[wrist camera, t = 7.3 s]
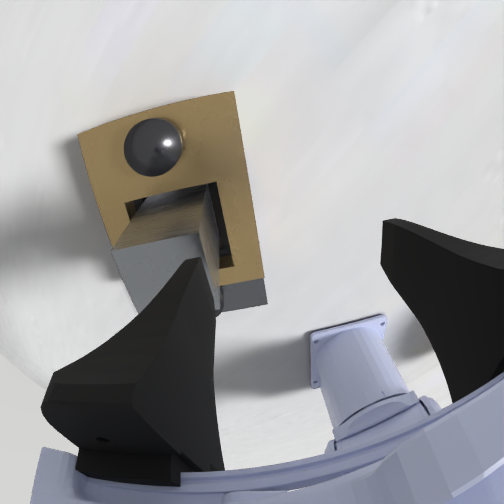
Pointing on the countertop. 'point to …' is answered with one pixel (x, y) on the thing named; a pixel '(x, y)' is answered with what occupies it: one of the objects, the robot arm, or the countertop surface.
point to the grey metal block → (168, 242)
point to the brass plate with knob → (181, 179)
